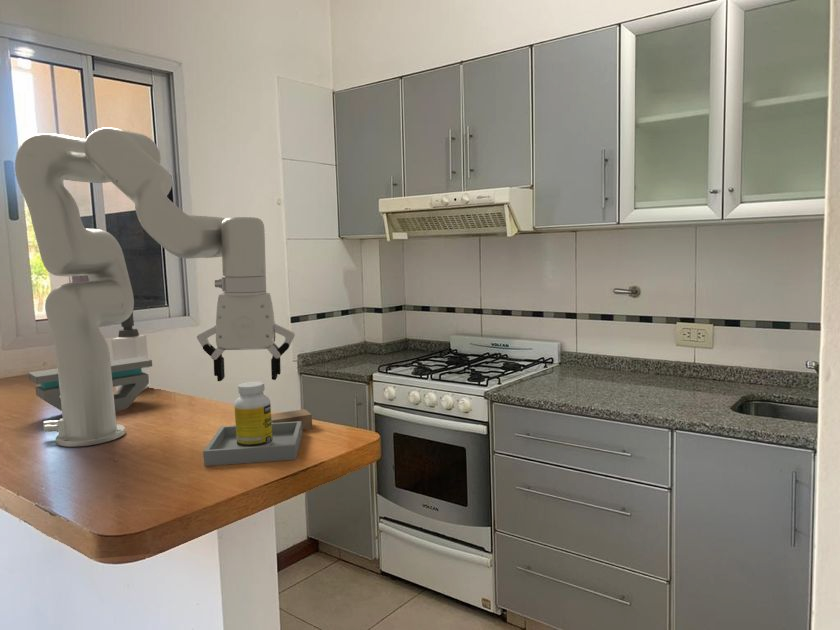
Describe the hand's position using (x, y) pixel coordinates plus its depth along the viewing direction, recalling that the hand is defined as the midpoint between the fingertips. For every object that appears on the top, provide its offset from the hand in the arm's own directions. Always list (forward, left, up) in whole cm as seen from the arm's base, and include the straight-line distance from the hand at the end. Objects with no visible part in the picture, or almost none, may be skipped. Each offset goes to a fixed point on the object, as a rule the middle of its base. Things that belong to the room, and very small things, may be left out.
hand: (247, 379), depth 118 cm
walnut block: (+6, +12, -13) cm, 19 cm away
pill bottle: (0, 0, -13) cm, 13 cm away
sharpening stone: (-42, +39, -13) cm, 59 cm away
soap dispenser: (-41, +61, -13) cm, 75 cm away
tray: (+1, 0, -13) cm, 13 cm away
